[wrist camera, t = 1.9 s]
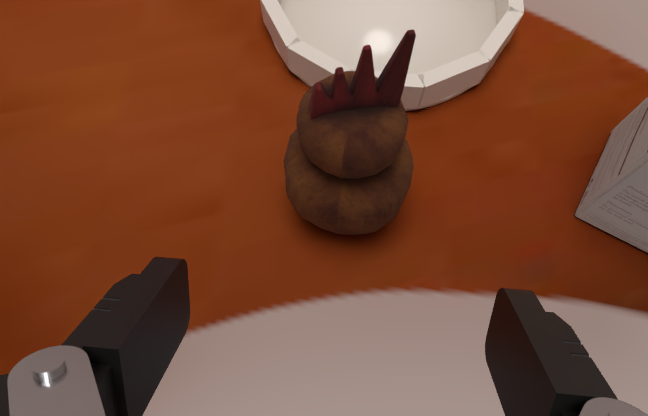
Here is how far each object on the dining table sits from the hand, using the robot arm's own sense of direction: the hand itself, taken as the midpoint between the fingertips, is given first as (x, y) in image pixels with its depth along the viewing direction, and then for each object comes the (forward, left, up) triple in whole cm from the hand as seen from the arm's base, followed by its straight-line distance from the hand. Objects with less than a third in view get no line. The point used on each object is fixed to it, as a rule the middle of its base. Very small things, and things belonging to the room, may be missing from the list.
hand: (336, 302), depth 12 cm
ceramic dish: (+2, +25, -16) cm, 30 cm away
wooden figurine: (0, +9, -16) cm, 18 cm away
